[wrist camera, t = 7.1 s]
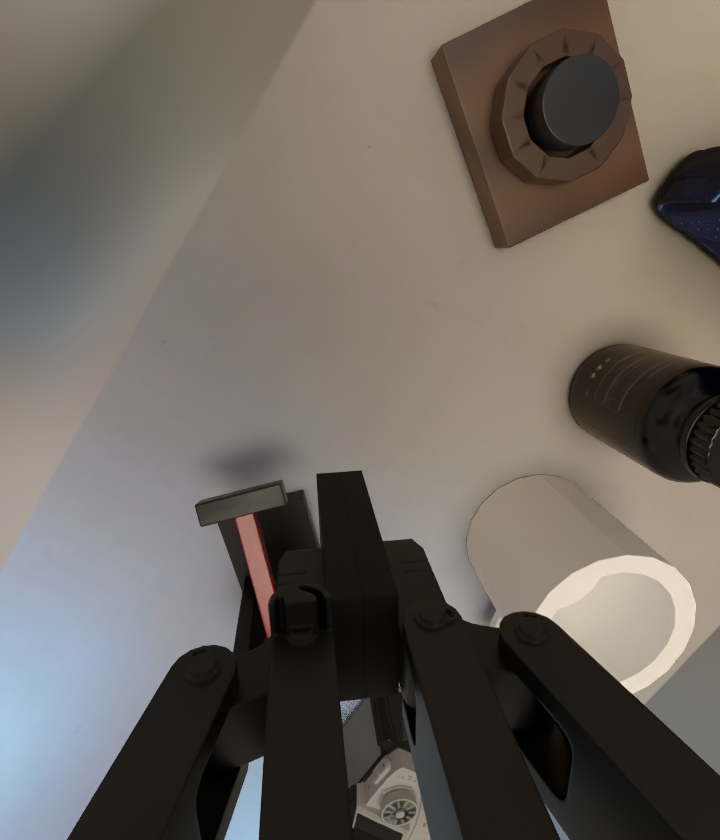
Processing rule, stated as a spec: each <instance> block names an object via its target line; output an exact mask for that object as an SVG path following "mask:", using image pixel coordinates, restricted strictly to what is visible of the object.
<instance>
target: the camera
mask: <svg viewBox="0 0 720 840" xmlns="http://www.w3.org/2000/svg"><path fill="white" fill-rule="evenodd" d="M342 728H343V738H344V748H345V758H346V768H347V778H348V788H349V798H350V807H351V817H352V827H353V837H354V840H431V839H430V834H429V830H428V825H427V821H426V816H425V812H424V807H423V803H422V799H421V794H420V790H419V785H418V781H417V776H416V772H415V768H414V763H413V759H412V754H411V750H410V745H409V741H408V740H406V741H403V696H402V692H401V688H399V695H390V696H382V697H374V698H365V699H362V701H361V702H360V703H359V705H358V706H357V707H356V708H355V710H354V711H353V712H352V713H351V715H350V716H349V717H348V719H347V720H346V721H345V722H344V724H343V725H342Z"/></svg>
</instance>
